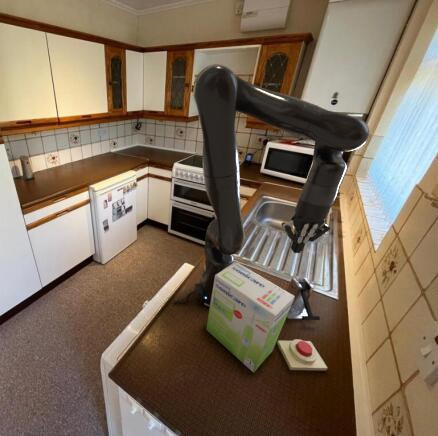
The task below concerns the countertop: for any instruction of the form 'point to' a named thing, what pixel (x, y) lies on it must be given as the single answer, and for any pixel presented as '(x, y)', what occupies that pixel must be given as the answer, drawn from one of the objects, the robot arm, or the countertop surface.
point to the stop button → (304, 348)
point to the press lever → (306, 303)
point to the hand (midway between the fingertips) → (295, 251)
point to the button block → (299, 361)
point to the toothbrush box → (247, 313)
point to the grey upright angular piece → (298, 299)
